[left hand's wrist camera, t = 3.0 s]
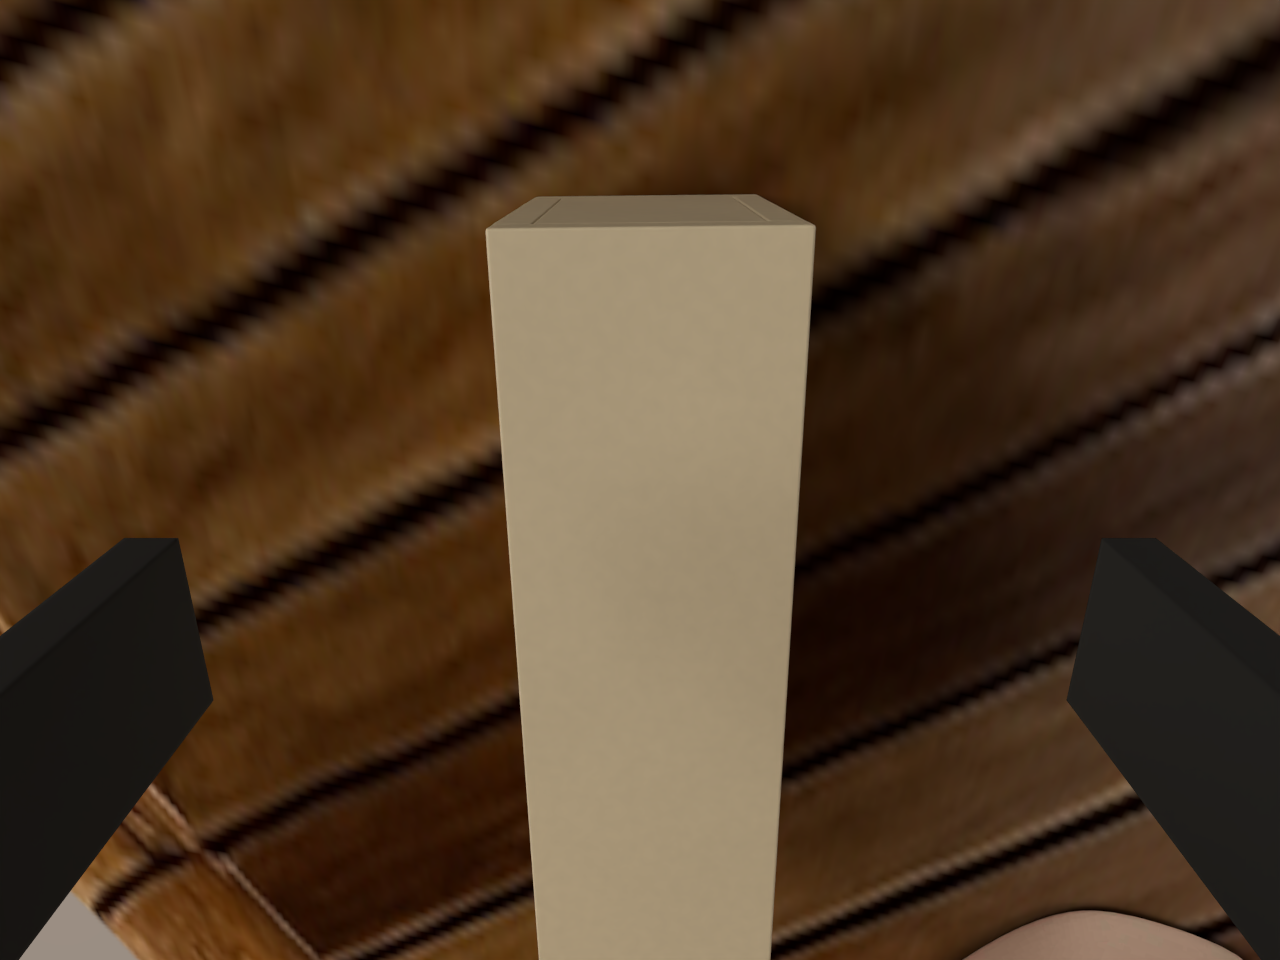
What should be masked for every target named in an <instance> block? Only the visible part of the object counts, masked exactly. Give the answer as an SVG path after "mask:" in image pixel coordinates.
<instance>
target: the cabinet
mask: <svg viewBox="0 0 1280 960" xmlns="http://www.w3.org/2000/svg"><path fill="white" fill-rule="evenodd" d="M815 233H816V227H815V225H813V224H812V223H810V222H808V221H805V220H803V219H801V218H800V217H798V216H796V215H794V214H792V213H790V212H788V211H786V210H784V209H783V208H781V207H779V206H777V205H775V204H773V203H771V202H769V201H768V200H766V199H764V198H762V197H760V196H758V195H756V194H742V195H650V196H558V197H536V198H534V199H532V200H531V201H529V202H527V203H526V204H524V205H523V206H521V207H520V208H518V209H516V210H515V211H513V212H512V213H510V214H508V215H507V216H505V217H504V218H502V219H501V220H499V221H497V222H496V223H494V224H493V225H492V226H490V227H489V228H487V229H486V244H487V257H488V271H489V285H490V298H491V312H492V326H493V339H494V353H495V366H496V380H497V394H498V407H499V421H500V435H501V448H502V462H503V476H504V489H505V503H506V516H507V530H508V544H509V557H510V571H511V585H512V598H513V612H514V626H515V639H516V653H517V666H518V680H519V694H520V707H521V721H522V735H523V748H524V762H525V776H526V789H527V803H528V817H529V830H530V844H531V857H532V871H533V885H534V898H535V912H536V926H537V939H538V953H539V960H770V956H771V940H772V924H773V908H774V892H775V876H776V860H777V844H778V828H779V812H780V796H781V779H782V763H783V747H784V731H785V715H786V699H787V683H788V667H789V651H790V635H791V619H792V603H793V587H794V571H795V554H796V538H797V522H798V506H799V490H800V474H801V458H802V442H803V426H804V410H805V394H806V378H807V362H808V346H809V329H810V313H811V297H812V281H813V265H814V249H815Z"/></svg>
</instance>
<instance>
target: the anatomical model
mask: <svg viewBox="0 0 1280 960" xmlns="http://www.w3.org/2000/svg"><path fill="white" fill-rule="evenodd" d="M963 960H1243V959H1241V958H1240V957H1239V956H1237V955H1236V954H1234V953H1232V952H1230V951H1229V950H1227V949H1225V948H1223V947H1221V946H1219V945H1217V944H1215V943H1213V942H1210V941H1208V940H1206V939H1203V938H1201V937H1198V936H1195V935H1193V934H1190V933H1188V932H1185V931H1182V930H1179V929H1176V928H1173V927H1170V926H1167V925H1164V924H1160V923H1157V922H1154V921H1150V920H1146V919H1143V918H1139V917H1135V916H1130V915H1125V914H1120V913H1115V912H1105V911H1095V910H1086V911H1072V912H1066V913H1061V914H1056V915H1052V916H1049V917H1045V918H1042V919H1039V920H1036V921H1034V922H1031V923H1029V924H1026V925H1024V926H1021V927H1019V928H1017V929H1015V930H1013V931H1011V932H1009V933H1007V934H1005V935H1003V936H1001V937H999V938H997V939H996V940H994V941H992V942H990V943H989V944H987V945H985V946H983V947H982V948H980V949H978V950H977V951H975V952H974V953H972V954H971V955H969V956H968V957H966V958H964V959H963Z"/></svg>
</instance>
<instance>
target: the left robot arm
mask: <svg viewBox="0 0 1280 960" xmlns="http://www.w3.org/2000/svg"><path fill="white" fill-rule="evenodd" d="M212 701H213V696H212V692H211V687H210V682H209V678H208V673H207V669H206V664H205V659H204V655H203V650H202V646H201V641H200V636H199V632H198V627H197V623H196V618H195V614H194V609H193V604H192V600H191V595H190V591H189V586H188V581H187V577H186V572H185V568H184V563H183V558H182V554H181V549H180V545H179V540H178V538H124V539H123V540H121V541H120V542H119V543H117V544H116V545H115V546H114V547H112V548H111V549H110V550H109V551H107V552H106V553H105V554H104V555H102V556H101V557H100V558H98V559H97V560H96V561H95V562H93V563H92V564H91V565H90V566H88V567H87V568H86V569H85V570H83V571H82V572H81V573H79V574H78V575H77V576H76V577H74V578H73V579H72V580H71V581H69V582H68V583H67V584H66V585H64V586H63V587H62V588H60V589H59V590H58V591H57V592H55V593H54V594H53V595H52V596H50V597H49V598H48V599H47V600H45V601H44V602H43V603H41V604H40V605H39V606H38V607H36V608H35V609H34V610H33V611H31V612H30V613H29V614H28V615H26V616H25V617H24V618H22V619H21V620H20V621H19V622H17V623H16V624H15V625H14V626H12V627H11V628H10V629H9V630H7V631H6V632H5V633H3V634H2V635H1V636H0V960H19V959H20V957H21V956H22V955H23V953H24V952H25V951H26V949H27V948H28V947H29V945H30V944H31V943H32V941H33V940H34V939H35V937H36V936H37V935H38V933H39V932H40V931H41V929H42V928H43V927H44V925H45V924H46V923H47V921H48V920H49V919H50V917H51V916H52V915H53V913H54V912H55V911H56V909H57V908H58V907H59V905H60V904H61V903H62V901H63V900H64V899H65V897H66V896H67V895H68V893H69V892H70V891H71V889H72V888H73V887H74V885H75V884H76V883H77V881H78V880H79V879H80V877H81V876H82V875H83V873H84V872H85V871H86V869H87V868H88V867H89V865H90V864H91V863H92V861H93V860H94V859H95V857H96V856H97V855H98V853H99V852H100V851H101V849H102V848H103V847H104V845H105V844H106V843H107V841H108V840H109V839H110V837H111V836H112V835H113V833H114V832H115V831H116V829H117V828H118V827H119V825H120V824H121V823H122V821H123V820H124V819H125V817H126V816H127V815H128V813H129V812H130V811H131V809H132V808H133V807H134V805H135V804H136V803H137V801H138V800H139V799H140V797H141V796H142V795H143V793H144V792H145V791H146V789H147V788H148V787H149V785H150V784H151V783H152V781H153V780H154V779H155V777H156V776H157V775H158V773H159V772H160V771H161V769H162V768H163V767H164V765H165V764H166V763H167V761H168V760H169V759H170V757H171V756H172V755H173V753H174V752H175V751H176V749H177V748H178V747H179V745H180V744H181V743H182V741H183V740H184V739H185V737H186V736H187V735H188V733H189V732H190V731H191V729H192V728H193V727H194V725H195V724H196V723H197V721H198V720H199V719H200V717H201V716H202V715H203V713H204V712H205V711H206V709H207V708H208V707H209V705H210V704H211V703H212ZM1067 701H1068V703H1069V704H1070V705H1071V707H1072V708H1073V709H1074V711H1075V712H1076V713H1077V715H1078V716H1079V717H1080V719H1081V720H1082V721H1083V723H1084V724H1085V725H1086V727H1087V728H1088V729H1089V731H1090V732H1091V733H1092V735H1093V736H1094V737H1095V739H1096V740H1097V741H1098V743H1099V744H1100V745H1101V747H1102V748H1103V749H1104V751H1105V752H1106V753H1107V755H1108V756H1109V757H1110V759H1111V760H1112V761H1113V763H1114V764H1115V765H1116V767H1117V768H1118V769H1119V771H1120V772H1121V773H1122V775H1123V776H1124V777H1125V779H1126V780H1127V781H1128V783H1129V784H1130V785H1131V787H1132V788H1133V789H1134V791H1135V792H1136V793H1137V795H1138V796H1139V797H1140V799H1141V800H1142V801H1143V803H1144V804H1145V805H1146V807H1147V808H1148V809H1149V811H1150V812H1151V813H1152V815H1153V816H1154V817H1155V819H1156V820H1157V821H1158V823H1159V824H1160V825H1161V827H1162V828H1163V829H1164V831H1165V832H1166V833H1167V835H1168V836H1169V837H1170V839H1171V840H1172V841H1173V843H1174V844H1175V845H1176V847H1177V848H1178V849H1179V851H1180V852H1181V853H1182V855H1183V856H1184V857H1185V859H1186V860H1187V861H1188V863H1189V864H1190V865H1191V867H1192V868H1193V869H1194V871H1195V872H1196V873H1197V875H1198V876H1199V877H1200V879H1201V880H1202V881H1203V883H1204V884H1205V885H1206V887H1207V888H1208V889H1209V891H1210V892H1211V893H1212V895H1213V896H1214V897H1215V899H1216V900H1217V901H1218V903H1219V904H1220V905H1221V907H1222V908H1223V909H1224V911H1225V912H1226V913H1227V915H1228V916H1229V917H1230V919H1231V920H1232V921H1233V923H1234V924H1235V925H1236V927H1237V928H1238V929H1239V931H1240V932H1241V933H1242V935H1243V936H1244V937H1245V939H1246V940H1247V941H1248V943H1249V944H1250V945H1251V947H1252V948H1253V949H1254V951H1255V952H1256V953H1257V955H1258V956H1259V957H1260V959H1261V960H1280V636H1279V635H1278V634H1277V633H1275V632H1274V631H1273V630H1271V629H1270V628H1269V627H1268V626H1266V625H1265V624H1264V623H1263V622H1261V621H1260V620H1259V619H1258V618H1256V617H1255V616H1254V615H1252V614H1251V613H1250V612H1249V611H1247V610H1246V609H1245V608H1244V607H1242V606H1241V605H1240V604H1239V603H1237V602H1236V601H1235V600H1233V599H1232V598H1231V597H1230V596H1228V595H1227V594H1226V593H1225V592H1223V591H1222V590H1221V589H1220V588H1218V587H1217V586H1216V585H1214V584H1213V583H1212V582H1211V581H1209V580H1208V579H1207V578H1206V577H1204V576H1203V575H1202V574H1201V573H1199V572H1198V571H1197V570H1195V569H1194V568H1193V567H1192V566H1190V565H1189V564H1188V563H1187V562H1185V561H1184V560H1183V559H1182V558H1180V557H1179V556H1178V555H1176V554H1175V553H1174V552H1173V551H1171V550H1170V549H1169V548H1168V547H1166V546H1165V545H1164V544H1163V543H1161V542H1160V541H1159V540H1157V539H1156V538H1102V540H1101V545H1100V549H1099V554H1098V558H1097V563H1096V568H1095V572H1094V577H1093V581H1092V586H1091V591H1090V595H1089V600H1088V604H1087V609H1086V614H1085V618H1084V623H1083V627H1082V632H1081V636H1080V641H1079V646H1078V650H1077V655H1076V659H1075V664H1074V669H1073V673H1072V678H1071V682H1070V687H1069V692H1068V696H1067Z"/></svg>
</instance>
